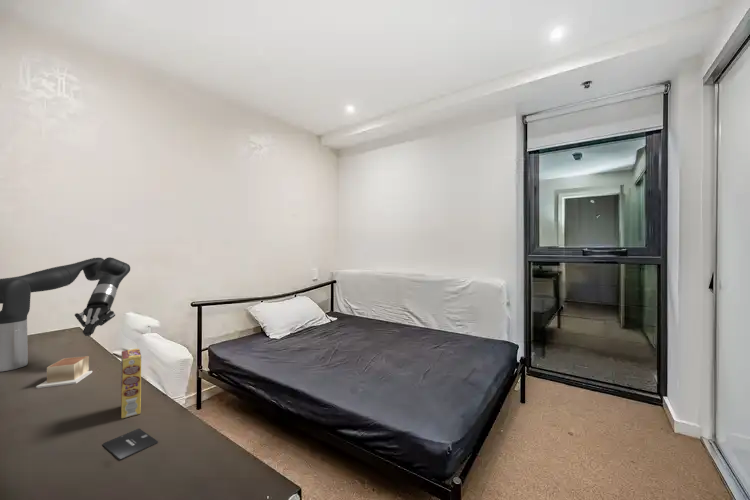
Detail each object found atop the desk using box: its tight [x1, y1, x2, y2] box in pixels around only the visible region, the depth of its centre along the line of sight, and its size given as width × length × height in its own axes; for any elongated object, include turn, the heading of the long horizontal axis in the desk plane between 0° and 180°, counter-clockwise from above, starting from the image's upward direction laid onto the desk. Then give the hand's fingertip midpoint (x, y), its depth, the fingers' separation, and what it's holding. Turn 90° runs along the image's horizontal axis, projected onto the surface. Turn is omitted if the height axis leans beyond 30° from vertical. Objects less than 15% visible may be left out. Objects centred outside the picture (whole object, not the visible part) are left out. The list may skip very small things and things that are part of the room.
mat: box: [35, 370, 93, 389], centre depth 105 cm, size 10×10×1 cm
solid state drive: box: [102, 428, 159, 461], centre depth 70 cm, size 7×10×1 cm
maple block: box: [46, 355, 90, 383], centre depth 107 cm, size 5×7×9 cm
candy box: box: [120, 348, 142, 419], centre depth 85 cm, size 9×4×15 cm, turn 39°
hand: (87, 334), depth 118 cm, fingers closed
